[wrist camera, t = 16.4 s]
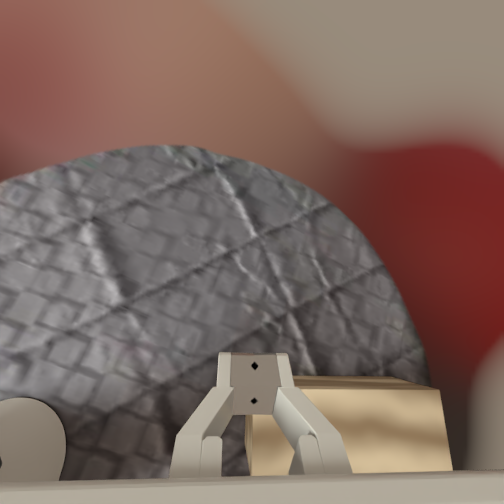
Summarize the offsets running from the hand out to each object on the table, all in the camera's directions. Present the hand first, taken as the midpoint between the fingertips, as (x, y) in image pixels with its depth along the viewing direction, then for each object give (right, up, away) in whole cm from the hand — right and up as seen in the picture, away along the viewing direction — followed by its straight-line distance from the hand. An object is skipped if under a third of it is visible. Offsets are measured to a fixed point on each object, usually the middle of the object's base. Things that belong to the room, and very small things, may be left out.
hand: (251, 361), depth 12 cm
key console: (+11, -19, +28) cm, 36 cm away
